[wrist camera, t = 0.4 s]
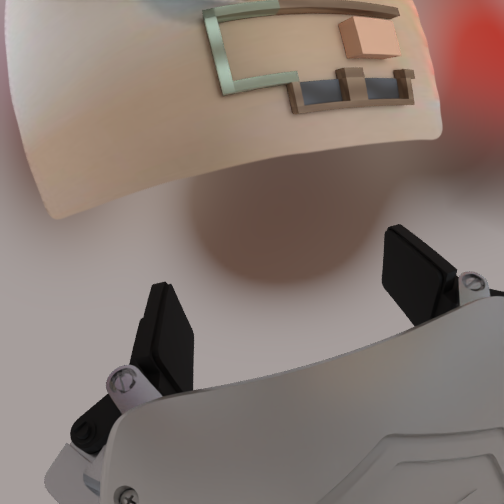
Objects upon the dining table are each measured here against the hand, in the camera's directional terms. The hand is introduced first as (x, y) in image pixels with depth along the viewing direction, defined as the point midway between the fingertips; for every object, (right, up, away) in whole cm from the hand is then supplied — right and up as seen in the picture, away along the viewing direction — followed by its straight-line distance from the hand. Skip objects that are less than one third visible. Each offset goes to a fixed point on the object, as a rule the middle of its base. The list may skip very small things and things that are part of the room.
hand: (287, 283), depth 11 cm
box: (+8, +30, +20) cm, 37 cm away
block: (+16, +34, +19) cm, 42 cm away
